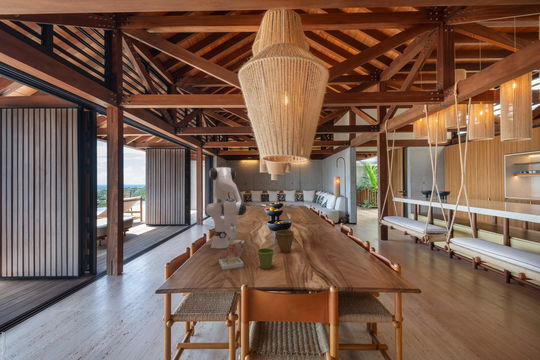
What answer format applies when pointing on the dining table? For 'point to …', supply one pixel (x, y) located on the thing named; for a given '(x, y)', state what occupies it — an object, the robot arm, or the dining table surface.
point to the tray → (231, 266)
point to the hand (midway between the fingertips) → (230, 242)
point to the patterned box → (237, 248)
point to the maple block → (230, 260)
